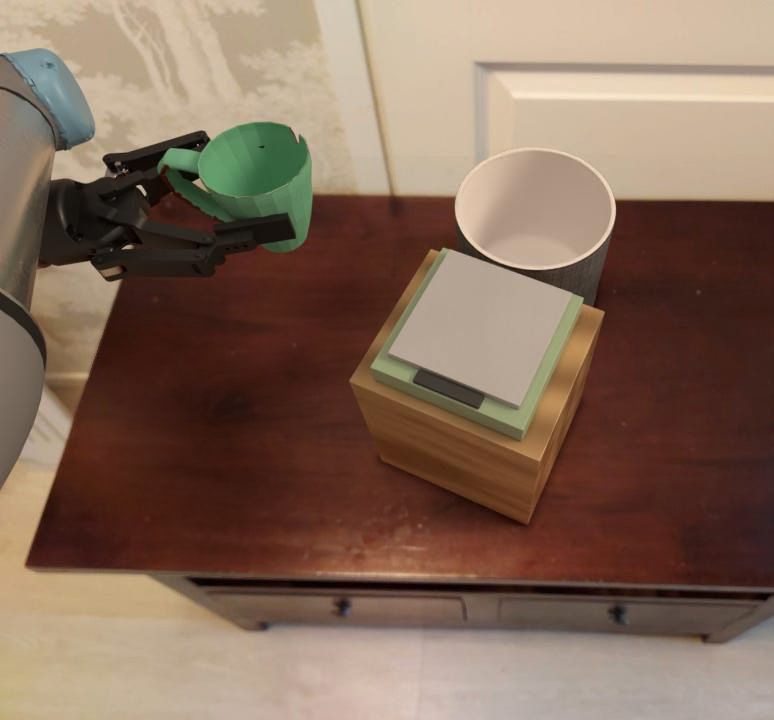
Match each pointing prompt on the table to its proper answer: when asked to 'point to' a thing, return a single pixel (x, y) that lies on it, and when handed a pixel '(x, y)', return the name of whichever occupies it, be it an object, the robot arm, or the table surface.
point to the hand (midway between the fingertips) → (288, 187)
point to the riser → (475, 424)
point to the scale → (479, 342)
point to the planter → (538, 217)
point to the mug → (247, 177)
